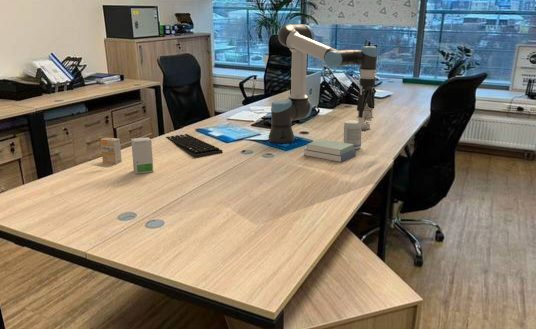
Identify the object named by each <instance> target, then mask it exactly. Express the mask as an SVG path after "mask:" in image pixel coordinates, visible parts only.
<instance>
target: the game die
mask: <svg viewBox="0 0 536 329" xmlns="http://www.w3.org/2000/svg"><path fill="white" fill-rule="evenodd" d="M374 109H375V107H374V108H372V109H371V108H370V107H368V105H367V103H365V107H364V111H365V112H364V123H366V122H367V121H366V120H368V119H370V118H372V119H374V116H373V110H374ZM357 112H358V113H357V116H356V118H357V119H359V111H357Z"/></svg>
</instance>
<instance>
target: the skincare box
mask: <svg viewBox="0 0 536 329" xmlns="http://www.w3.org/2000/svg"><path fill="white" fill-rule="evenodd" d="M130 140H131V141H130V142H131V153H132V166H133V168H132V169H133V172H134V173H135V174H136V175H137V174H148V173H154V163H153V162H154V161H153V160H154V159H153V158H154V157H153V147H152V145H153V144H152V139H151V138H150V137H136V138H131V139H130Z"/></svg>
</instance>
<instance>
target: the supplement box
mask: <svg viewBox="0 0 536 329" xmlns="http://www.w3.org/2000/svg"><path fill="white" fill-rule="evenodd" d="M99 140H100V148H101V157H102V158H101V159H102V163H103V164H109V165H116V166H117V165H118V164H121V163H122V162H123V160H122V151H121V149H122V148H121V142H120V141H121V139H120V138H115V137H102V138H100V139H99Z"/></svg>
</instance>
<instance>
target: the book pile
mask: <svg viewBox="0 0 536 329" xmlns="http://www.w3.org/2000/svg"><path fill="white" fill-rule="evenodd" d="M356 151H357V149H354V144H349V143H344V141H342V142H341V141H335V140H330V139H329V140H328V139H324V138H323V139H321V138H320V139H317V140H314V141H311V142H309V143H306V148H305V149H304V151H303V152H304V154H303V155H304V156H307V157H312V158H317V159H322V160H328V161H334V162H340V163H342V162H345V161H347V160H349V159H351V158H353V157H356V154H357V152H356Z"/></svg>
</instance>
